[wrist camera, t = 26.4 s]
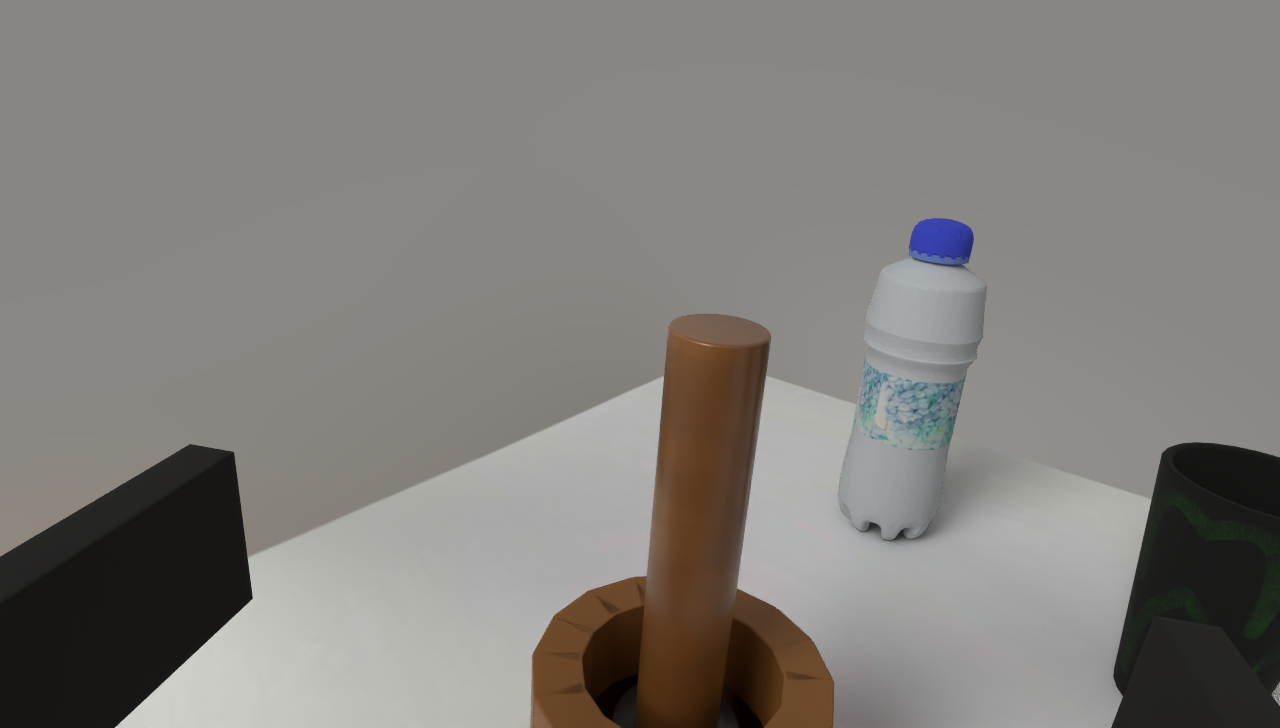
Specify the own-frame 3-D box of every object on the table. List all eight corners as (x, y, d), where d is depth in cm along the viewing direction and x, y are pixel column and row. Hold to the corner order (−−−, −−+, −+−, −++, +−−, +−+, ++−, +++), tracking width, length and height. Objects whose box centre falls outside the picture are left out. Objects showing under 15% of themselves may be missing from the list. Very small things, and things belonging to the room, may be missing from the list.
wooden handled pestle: (606, 945, 25) (655, 355, 18) (595, 830, 28) (631, 303, 21) (729, 932, 25) (823, 357, 18) (702, 821, 29) (771, 307, 22)
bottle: (874, 486, 56) (930, 206, 49) (956, 532, 51) (1032, 227, 44) (809, 510, 52) (860, 210, 45) (891, 562, 47) (963, 234, 40)
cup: (1143, 627, 43) (1216, 431, 39) (1306, 727, 37) (1414, 506, 32) (1057, 670, 39) (1127, 458, 35) (1222, 788, 33) (1331, 549, 29)
